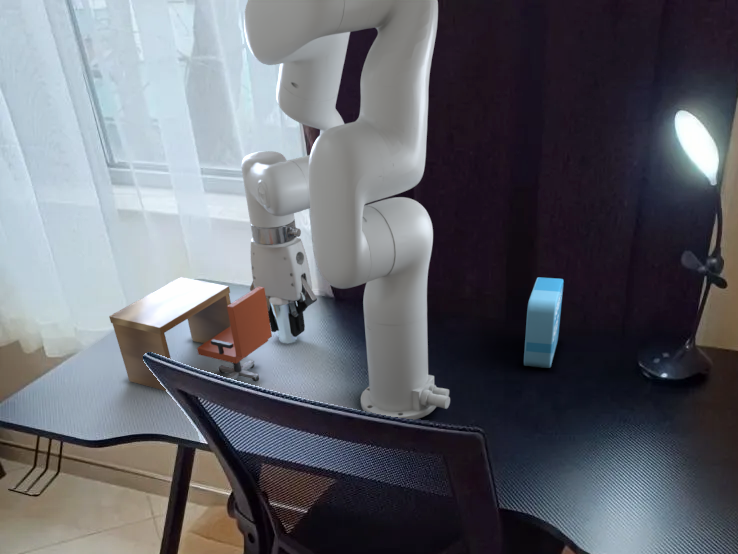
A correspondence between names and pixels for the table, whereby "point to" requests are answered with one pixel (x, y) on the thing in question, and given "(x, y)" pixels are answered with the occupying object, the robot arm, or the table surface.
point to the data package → (543, 322)
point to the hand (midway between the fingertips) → (288, 330)
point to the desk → (168, 322)
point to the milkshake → (282, 319)
